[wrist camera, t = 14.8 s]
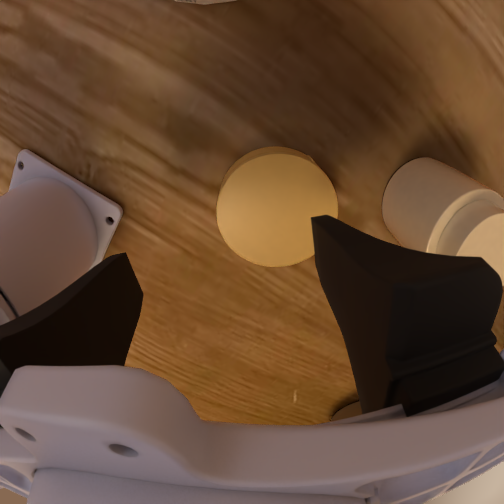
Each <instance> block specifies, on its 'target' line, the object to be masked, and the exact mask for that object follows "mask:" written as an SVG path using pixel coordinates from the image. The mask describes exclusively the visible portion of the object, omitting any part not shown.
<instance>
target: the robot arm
mask: <svg viewBox="0 0 504 504" xmlns="http://www.w3.org/2000/svg"><path fill="white" fill-rule="evenodd" d="M21 163H23V164H24V168H23V167H22V165H21ZM122 215H123V210H122V208H121V206H119V205H118V204H117V203H115V202H113V201H112V200H110V199H108V198H107V197H105V196H103V195H101V194H100V193H98V192H96V191H95V190H93V189H91V188H90V187H88V186H86V185H85V184H83V183H81V182H80V181H78V180H77V179H75V178H73V177H72V176H70V175H68V174H67V173H65V172H63V171H62V170H60V169H58V168H57V167H55V166H54V165H52V164H50V163H49V162H47V161H45V160H44V159H42V158H41V157H39V156H37V155H36V154H34V153H33V152H31V151H29V150H27V149H24V150H22V151H20V152H19V154H18V157H17V160H16V164H15V168H14V171H13V175H12V179H11V184H10V188H9V192H7V193H6V194H4V195H2V196H1V197H0V489H1V488H4V487H5V488H7V489H9V490H11V491H13V492H15V493H17V494H19V495H22V496H24V497H26V498H28V500H27V504H423V503H426V502H428V501H430V500H432V499H435V498H437V497H439V496H441V495H443V494H445V493H447V492H449V491H451V490H453V489H455V488H457V487H459V486H461V485H463V484H465V483H467V482H469V481H471V480H472V479H474V478H476V477H478V476H480V475H481V474H483V473H485V472H486V471H488V470H490V469H492V468H493V467H495V466H497V465H498V464H500V463H501V462H503V461H504V349H503V350H502V351H501V352H500V354H499V353H498V351H497V350H496V348H495V347H494V345H495V344H496V342H497V339H496V336H495V335H494V334H493V332H492V331H491V328H492V326H493V323H494V320H495V317H496V315H497V312H498V309H499V306H500V302H501V298H502V293H503V288H502V281H501V278H500V276H499V274H498V273H497V272H496V271H495V270H494V269H493V268H492V267H491V266H490V265H489V264H488V263H487V262H486V261H485V260H484V259H483V258H482V257H471V256H450V255H441V254H433V253H427V252H422V251H417V250H413V249H408V248H404V247H401V246H397V245H394V244H391V243H388V242H385V241H382V240H380V239H377V238H375V237H372V236H370V235H368V234H365V233H363V232H361V231H359V230H357V229H355V228H353V227H351V226H349V225H347V224H345V223H343V222H341V221H340V220H338V219H336V218H334V217H332V216H329V215H321V216H315V217H311V225H312V234H313V243H314V253H315V263H316V268H317V271H318V275H319V278H320V282H321V285H322V288H323V290H324V292H325V295H326V297H327V299H328V302H329V304H330V306H331V308H332V311H333V313H334V315H335V318H336V320H337V322H338V325H339V327H340V329H341V332H342V335H343V338H344V341H345V344H346V348H347V351H348V355H349V359H350V363H351V366H352V370H353V374H354V378H355V383H356V387H357V391H358V396H359V401H360V405H361V410H362V415H358V416H354V417H350V418H346V419H341V420H337V421H332V422H327V423H322V424H317V425H258V424H240V423H227V422H216V421H204V420H202V419H200V418H199V416H198V415H197V414H196V412H195V411H194V409H193V408H192V406H191V404H190V403H189V401H188V399H187V398H186V397H185V396H184V395H183V394H181V393H180V392H179V391H178V390H177V389H176V388H175V387H174V386H173V385H172V384H171V383H170V382H169V381H167V380H166V379H164V378H161V377H159V376H157V375H155V374H152V373H150V372H148V371H146V370H143V369H141V368H133V367H126V366H124V364H125V361H126V357H127V354H128V351H129V347H130V344H131V341H132V338H133V335H134V332H135V329H136V326H137V323H138V320H139V316H140V312H141V307H142V301H143V292H142V290H141V287H140V285H139V283H138V280H137V278H136V276H135V273H134V271H133V269H132V266H131V264H130V261H129V259H128V257H127V254H126V252H125V253H120V254H115V255H112V256H110V257H108V258H106V259H105V260H103V258H104V255H105V253H106V251H107V248H108V246H109V244H110V241H111V239H112V237H113V235H114V233H115V230H116V228H117V226H118V224H119V222H120V220H121V217H122ZM108 217H112V218H113V220H114V222H110V221H109V219H108ZM102 260H103V261H102Z"/></svg>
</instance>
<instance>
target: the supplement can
mask: <svg viewBox="0 0 504 504" xmlns="http://www.w3.org/2000/svg"><path fill="white" fill-rule="evenodd" d="M174 1H177V2H187V3H195V4H203V5H207V4H214V3H221V2H229V1H237V0H174Z"/></svg>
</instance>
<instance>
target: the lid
mask: <svg viewBox="0 0 504 504" xmlns="http://www.w3.org/2000/svg"><path fill="white" fill-rule="evenodd" d="M321 215H329V216H332V217H334V218H336V219H337V217H338V200H337V195H336V192H335V189H334V187H333V185H332V183H331V181H330V179H329V178H328V177H327V175H326V174H325V173H324V172H323V171H322V169H321V168H320V167H319V166H318V165H317V164H316V163H315V162H314V160H313V159H312V158H311V157H310V156H309V155H308V156H307V155H305V154H303V153H302V152H299V151H297V150H295V149H291V148H287V147H280V146H271V147H264V148H260V149H256V150H254V151H252V152H249V153H248V154H246V155H244V156H242V157H241V158H240V159H239V160H237V161H236V162H235V163H234V164H233V165H232V166H231V168H230V169H229V170H228V172H227V173H226V175H225V177H224V179H223V181H222V184H221V187H220V191H219V196H218V200H217V205H216V219H217V224H218V228H219V230H220V233H221V235H222V237H223V239H224V240H225V242H226V243H227V245H228V246H229V247H230V248H231V249H232V250H233V251H234V252H235V253H236V254H238V255H239V256H240V257H242V258H244V259H245V260H247V261H249V262H252V263H255V264H258V265H262V266H268V267H283V266H289V265H293V264H296V263H299V262H302V261H304V260H306V259H308V258H309V257H311V256H312V255H314V254H315V253H314V243H313V234H312V225H311V217H315V216H321Z"/></svg>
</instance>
